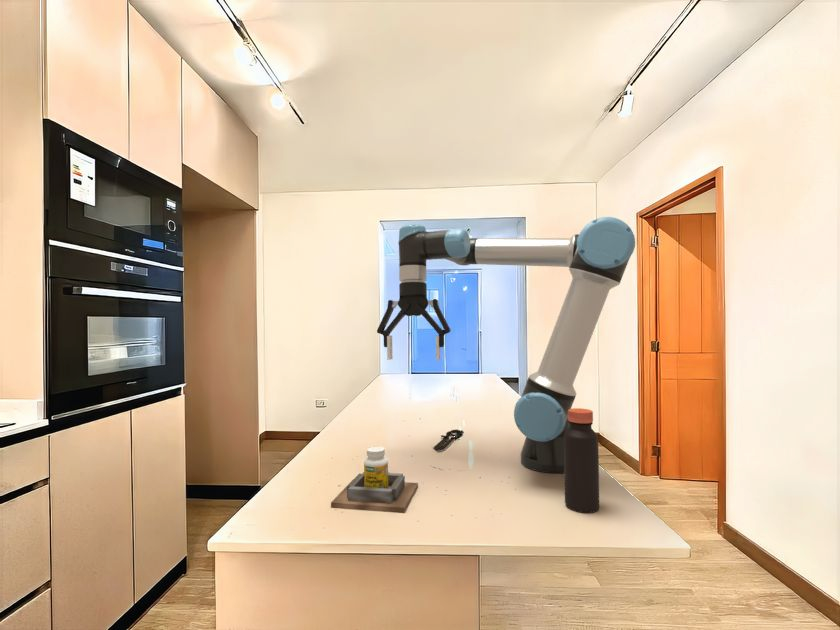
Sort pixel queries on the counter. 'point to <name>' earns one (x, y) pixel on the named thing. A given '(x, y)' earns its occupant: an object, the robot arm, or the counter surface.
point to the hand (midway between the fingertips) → (413, 359)
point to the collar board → (377, 495)
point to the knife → (448, 440)
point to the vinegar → (581, 462)
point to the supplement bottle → (376, 468)
